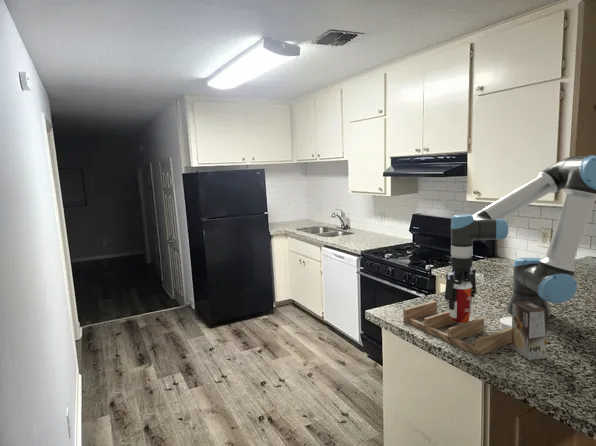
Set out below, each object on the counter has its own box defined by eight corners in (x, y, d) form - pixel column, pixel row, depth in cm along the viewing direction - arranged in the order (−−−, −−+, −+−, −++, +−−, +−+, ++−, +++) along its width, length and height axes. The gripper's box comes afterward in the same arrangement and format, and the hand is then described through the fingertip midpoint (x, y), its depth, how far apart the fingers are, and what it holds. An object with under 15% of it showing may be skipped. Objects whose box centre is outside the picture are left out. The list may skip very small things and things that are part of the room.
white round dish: (502, 334, 142) (502, 325, 141) (496, 324, 151) (497, 315, 151) (533, 336, 139) (533, 327, 138) (525, 325, 148) (525, 316, 148)
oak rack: (512, 342, 135) (512, 328, 135) (478, 355, 127) (478, 341, 127) (434, 311, 166) (434, 300, 165) (403, 321, 158) (403, 309, 157)
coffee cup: (474, 324, 143) (474, 285, 141) (450, 324, 145) (450, 285, 143) (469, 315, 151) (469, 278, 149) (447, 315, 153) (447, 278, 151)
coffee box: (547, 358, 123) (549, 310, 121) (528, 360, 123) (530, 312, 121) (527, 345, 132) (529, 300, 130) (510, 347, 132) (511, 302, 130)
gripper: (471, 250, 152) (469, 306, 155) (434, 258, 143) (433, 317, 146) (488, 254, 145) (486, 312, 149) (450, 262, 136) (449, 324, 140)
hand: (460, 314), depth 147 cm, fingers closed on coffee cup, 7 cm apart
